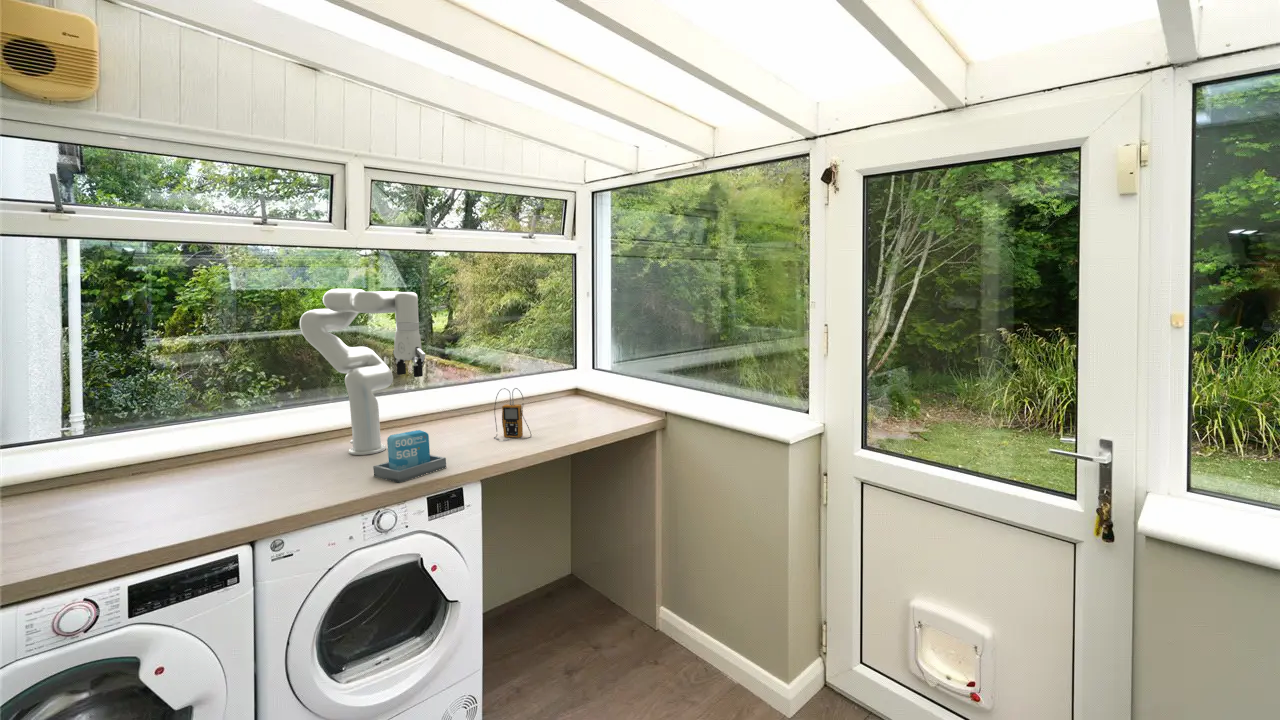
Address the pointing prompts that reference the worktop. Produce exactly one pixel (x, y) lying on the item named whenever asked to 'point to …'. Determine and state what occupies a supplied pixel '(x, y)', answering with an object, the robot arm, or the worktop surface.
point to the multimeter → (512, 419)
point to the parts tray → (409, 470)
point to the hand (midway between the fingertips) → (409, 375)
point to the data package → (408, 449)
